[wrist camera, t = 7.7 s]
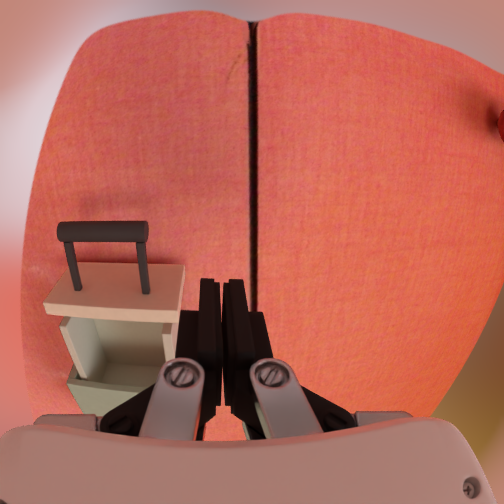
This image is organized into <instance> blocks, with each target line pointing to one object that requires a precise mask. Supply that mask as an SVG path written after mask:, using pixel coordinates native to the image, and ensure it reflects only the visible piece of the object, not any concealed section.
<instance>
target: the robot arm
mask: <svg viewBox="0 0 504 504" xmlns="http://www.w3.org/2000/svg"><path fill="white" fill-rule="evenodd" d="M222 366H223V382H224V397H225V406H231V414H234V415H235V416H236V417H237V418H239V419H240V420H242V425H243V429H244V432H245V436H246V439H247V440H245V441H204V437H205V431H206V422H208V421H209V420H210V419H211V418H213V417H214V416H215V415H216V406H221V387H222ZM0 504H497V502H496V500H495V497H494V495H493V493H492V490H491V488H490V485H489V483H488V481H487V479H486V476H485V474H484V472H483V470H482V468H481V466H480V464H479V462H478V460H477V458H476V456H475V454H474V452H473V451H472V449H471V447H470V446H469V444H468V442H467V441H466V439H465V438H464V436H463V435H462V434H461V432H460V431H459V430H458V429H457V428H456V427H455V426H454V425H453V424H452V423H450V422H448V421H446V420H442V419H438V418H431V417H413V416H412V415H411V414H409V413H407V412H404V411H356V412H355V414H350V413H349V412H348V411H346V410H345V409H343V408H341V407H339V406H337V405H336V404H334V403H332V402H330V401H328V400H326V399H324V398H323V397H321V396H319V395H317V394H315V393H313V392H312V391H310V390H308V389H306V388H305V387H303V386H301V385H300V384H299V382H298V379H297V377H296V375H295V373H294V371H293V370H292V368H291V367H290V366H289V365H288V364H287V363H286V362H284V361H282V360H279V359H275V358H273V354H272V350H271V345H270V341H269V337H268V332H267V328H266V324H265V319H264V315H263V312H248V306H247V300H246V294H245V288H244V282H243V279H229V283H224V285H223V304H222V323H221V303H220V283H219V282H214V279H208V278H201V280H200V299H199V311H191V310H181V311H180V317H179V325H178V334H177V343H176V352H175V358H174V359H171V360H169V361H167V362H166V363H165V364H164V365H162V367H161V369H160V371H159V374H158V377H157V380H156V383H154V384H153V385H151V386H150V387H148V388H146V389H145V390H143V391H142V392H140V393H138V394H137V395H135V396H134V397H132V398H130V399H129V400H127V401H125V402H124V403H122V404H120V405H119V406H117V407H115V408H114V409H112V410H110V411H109V412H108V413H106V414H105V415H104V416H96V414H47V415H42V416H40V417H39V418H37V419H36V421H35V422H34V424H33V425H27V426H21V427H17V428H14V429H11V430H9V431H7V432H6V433H5V434H4V435H2V437H1V438H0Z"/></svg>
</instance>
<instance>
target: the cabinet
mask: <svg viewBox="0 0 504 504" xmlns="http://www.w3.org/2000/svg"><path fill="white" fill-rule="evenodd" d="M66 384H67V386H68V388H69V389H70V391H71V393H72V395H73V397H74V398H75V400H76V402H77V404H78V405H79V407H80V409H81V410H82V412H83V414H96V416H104V415H105V414H106V413H108V412H109V411H110V410H112V409H114V408H115V407H117V406H119V405H120V404H122V403H124V402H125V401H127V400H129V399H130V398H132V397H134V396H135V395H137V394H138V393H140V392H142V391H143V390H145V389H146V388H148V387H137V386H126V385H116V384H107V383H99V382H92V381H85V380H82V379H81V377H80V375H79V373H78V371H77V369H76V366H75V364H73V367H72V369H71V372H70V375H69V378H68V380H67V383H66Z"/></svg>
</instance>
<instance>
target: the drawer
mask: <svg viewBox="0 0 504 504" xmlns="http://www.w3.org/2000/svg"><path fill="white" fill-rule="evenodd" d="M148 233H149V228H148V222H147V221H70V222H60V223H59V224H58V227H57V237H58V240H59V241H60V242H64V247H65V252H66V257H67V262H68V266H69V267H68V268H67V269H66V271H65V272H64V273H63V275H62V276H61V277H60V279H59V280H58V282H57V283H56V284H55V286H54V287H53V289H52V290H51V291H50V293H49V294H48V296H47V297H46V299H45V300H44V302H43V305H44V308H45V311H46V313H47V314H50V315H59V316H64V318H63V320H62V321H61V323H60V325H59V328H60V330H61V333H62V336H63V338H64V341H65V343H66V346H67V348H68V350H69V353H70V355H71V357H72V360H73V362H74V364H75V366H76V369H77V371H78V373H79V375H80V377H81V379H82V380H85V381H92V382H99V383H107V384H116V385H126V386H137V387H150V386H151V385H153V384H154V383H156V380H157V377H158V374H159V371H160V369H161V367H162V365H164V364H165V363H166V362H167V361H169V360H171V359H174V358H175V352H176V343H177V334H178V325H179V317H180V309H181V301H182V294H183V287H184V280H185V265H184V264H147V254H146V243H145V242H147V240H148ZM73 242H136V249H137V258H138V263H96V262H77V260H76V255H75V250H74V245H73Z"/></svg>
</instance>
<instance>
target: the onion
mask: <svg viewBox="0 0 504 504" xmlns="http://www.w3.org/2000/svg"><path fill="white" fill-rule="evenodd" d="M497 126H498V130H499V134H500V136H501V138H502V140H503V142H504V110H503V111H502V112H501V114H500V117H499V119H498V120H497Z"/></svg>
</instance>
